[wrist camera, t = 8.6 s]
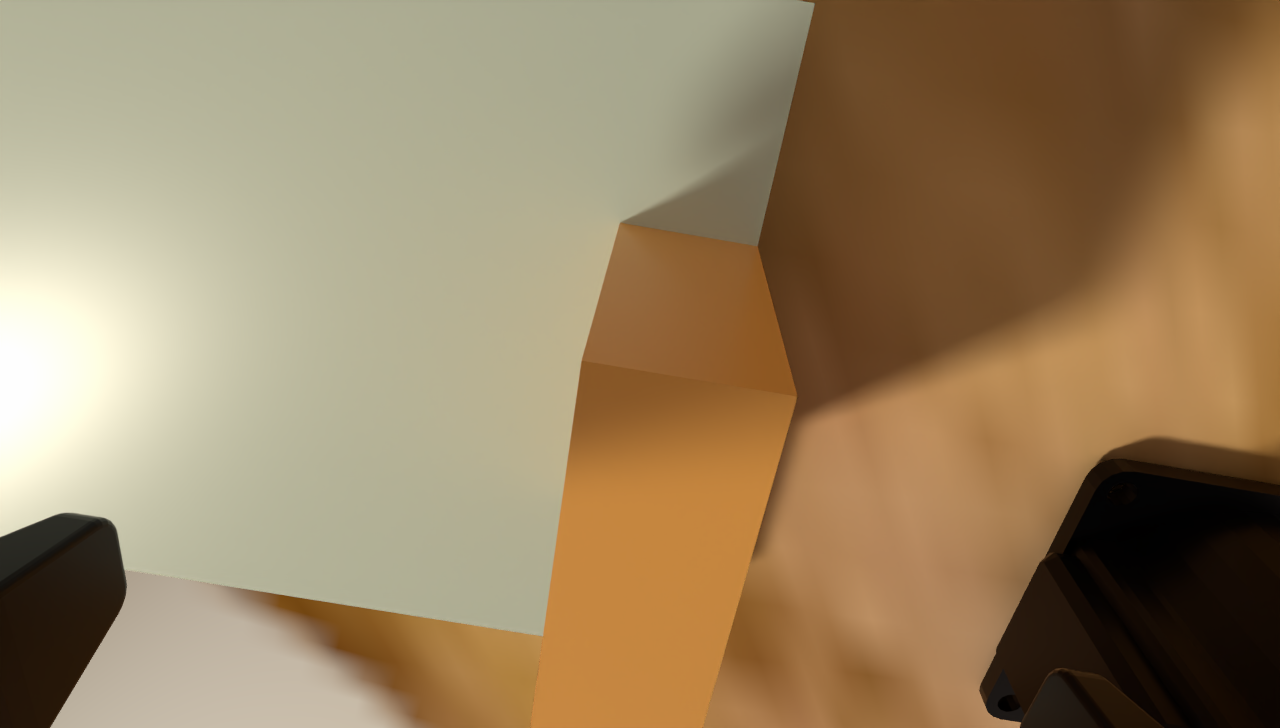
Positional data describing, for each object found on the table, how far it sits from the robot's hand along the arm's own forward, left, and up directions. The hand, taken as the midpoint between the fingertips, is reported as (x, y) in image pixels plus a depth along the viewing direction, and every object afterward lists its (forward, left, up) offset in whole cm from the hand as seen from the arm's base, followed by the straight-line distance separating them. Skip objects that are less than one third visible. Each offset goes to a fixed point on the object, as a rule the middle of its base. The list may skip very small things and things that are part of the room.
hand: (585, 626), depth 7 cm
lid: (+7, 0, -7) cm, 10 cm away
